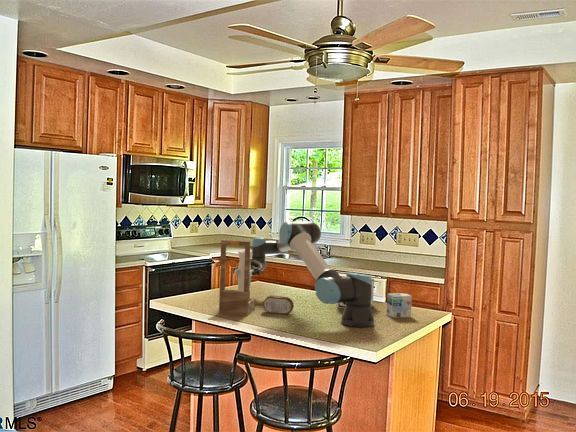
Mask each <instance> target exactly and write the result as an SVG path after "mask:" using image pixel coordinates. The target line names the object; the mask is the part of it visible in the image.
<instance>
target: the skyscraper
mask: <svg viewBox="0 0 576 432" xmlns="http://www.w3.org/2000/svg"><path fill="white" fill-rule="evenodd" d="M237 253H238V258H239V263H238V266H237V267H238V269H239V271H238V275H237V290H239V291H244V268H245V249H240V250H238V251H237ZM250 260H252V247H250ZM250 271H251V264H250ZM251 283H252V276H251V277H249V301H251V300H252V299H251V298H250V297H251V291H250V290H251Z"/></svg>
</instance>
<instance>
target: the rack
mask: <svg viewBox="0 0 576 432" xmlns="http://www.w3.org/2000/svg"><path fill="white" fill-rule="evenodd" d="M227 245H228V246H232V247H236V246H237V247H239V246H241V247H242V246H244V250H245V268H244V291H239V290H238V289H226V269H227V267H226V266H227V265H226V262H227ZM250 248H251V240H235V239H234V240H233V239H231V240H229V239H221V240H220V262H219V263H220V266H219V267H220V269H219V300H218V301H219V303H218V305H219V309H218V314H221V315H232V316H244V317H246V316H247V317H248V316H249V315H250V314H251V313H252V312H253V311H255V310H256V309H255V308H256V307H255V305H256V304H255V303H256V302H255V301H256V298H252V299H251V301H249V273H250V262H251V259H250V252H251V249H250Z"/></svg>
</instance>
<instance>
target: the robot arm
mask: <svg viewBox="0 0 576 432" xmlns="http://www.w3.org/2000/svg"><path fill="white" fill-rule="evenodd" d="M278 231H279V232H278V238H279V239H277V240H267V239H266V237H253V238H252V242H251V250H252V255H251V260H250V264H251V271H250V273H249V277H251V278H252V277H253V276H255V275H258V276H260V275H261V274H263V273H264V270H265V269H266V268H267V265H268V264H267V261H266V255H278V254H279V255H284V254H287V253H288V252H289V251H290V250H291V251H293V252H294V253H295V252H296V254H298V256H299V257H300V259H301V261H302V262H303V263H304V265H305V266H306V268H307V269H308V270H309V273H311V275H312V277H313V278H314V279H315V285H314V291H315V295H316V297H317V299H318V300H319V301H320V302H321V303H323V304H325V305H333V304H334V305H335V304H336V305H337V303H345V302H346V306H345V308H343V311H342V315H341V321H340V323H341V324H342V325H344V326H349V327H355V328H369V327H373V326H374V325H375V317H374V315H373V310H372V307H371V292H372V278H373V277H372V276H370V275H368V274H363V273H356V272H347V273H346V275H345V276H347V277H345V276H342V275H340V274H339V272H338V271H337V270H336V269H333V268H331V267H330V266H329V264H328V263H327V261H325V259H324V258H323V256H322V255H321V253H320V252H319V250H317V248H316V247H315V245H314V244H316V243H317V242H319V241H320V239H321V236H322V230H321V228H320V226H319V225H318V224H317V223H315V222H313V221H292V220H290V221H285V222H283V223H282V224H281V225H280V228H279V230H278ZM238 267H239V266H237V267H234V268H232V274H234V277H236V276H237V277H238V271H239V269H238Z"/></svg>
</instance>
